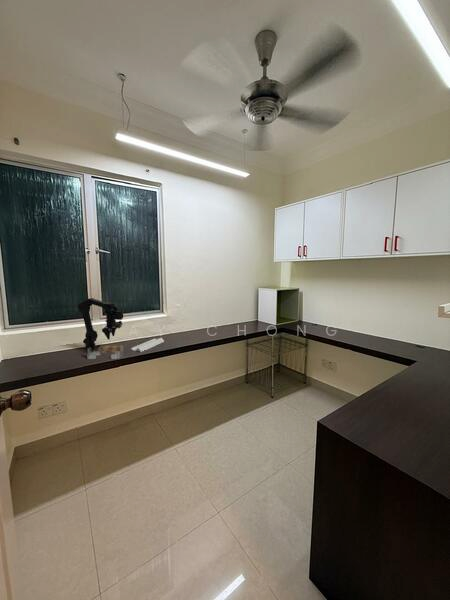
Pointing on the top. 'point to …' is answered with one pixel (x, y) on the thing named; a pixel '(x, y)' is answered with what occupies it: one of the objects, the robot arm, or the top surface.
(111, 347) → the rail
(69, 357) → the top surface
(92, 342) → the robot arm
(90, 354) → the cup brackets
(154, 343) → the crown molding
